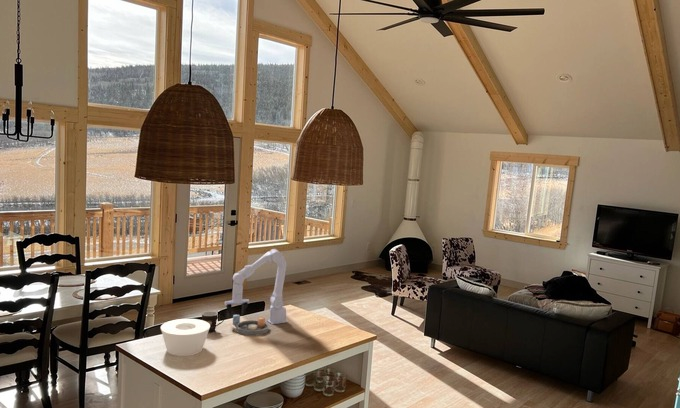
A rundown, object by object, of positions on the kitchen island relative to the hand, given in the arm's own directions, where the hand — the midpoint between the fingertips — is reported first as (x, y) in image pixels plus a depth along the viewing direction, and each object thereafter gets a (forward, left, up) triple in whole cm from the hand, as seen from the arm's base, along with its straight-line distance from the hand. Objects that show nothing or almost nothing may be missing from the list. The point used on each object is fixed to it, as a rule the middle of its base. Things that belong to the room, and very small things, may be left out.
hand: (236, 316), depth 303 cm
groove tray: (-5, +13, -5) cm, 15 cm away
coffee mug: (+17, +7, -5) cm, 19 cm away
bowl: (+37, +27, -5) cm, 46 cm away
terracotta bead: (-10, +13, -4) cm, 17 cm away
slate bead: (0, 0, -5) cm, 5 cm away
